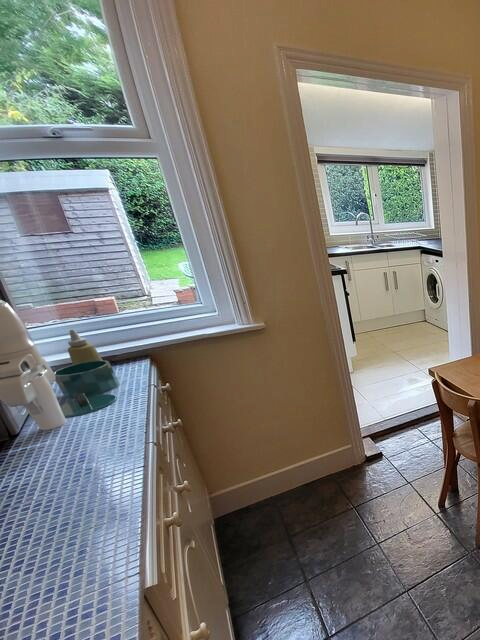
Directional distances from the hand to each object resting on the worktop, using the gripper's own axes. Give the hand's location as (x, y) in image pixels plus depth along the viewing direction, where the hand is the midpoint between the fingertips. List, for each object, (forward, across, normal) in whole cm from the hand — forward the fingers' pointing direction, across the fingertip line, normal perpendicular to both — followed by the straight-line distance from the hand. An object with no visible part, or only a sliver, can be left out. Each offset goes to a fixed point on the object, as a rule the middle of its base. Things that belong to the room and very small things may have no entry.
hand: (43, 408), depth 112 cm
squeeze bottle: (+6, -43, -1) cm, 43 cm away
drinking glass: (+6, 0, 0) cm, 6 cm away
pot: (+6, -27, +2) cm, 28 cm away
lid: (+5, -11, +4) cm, 13 cm away
